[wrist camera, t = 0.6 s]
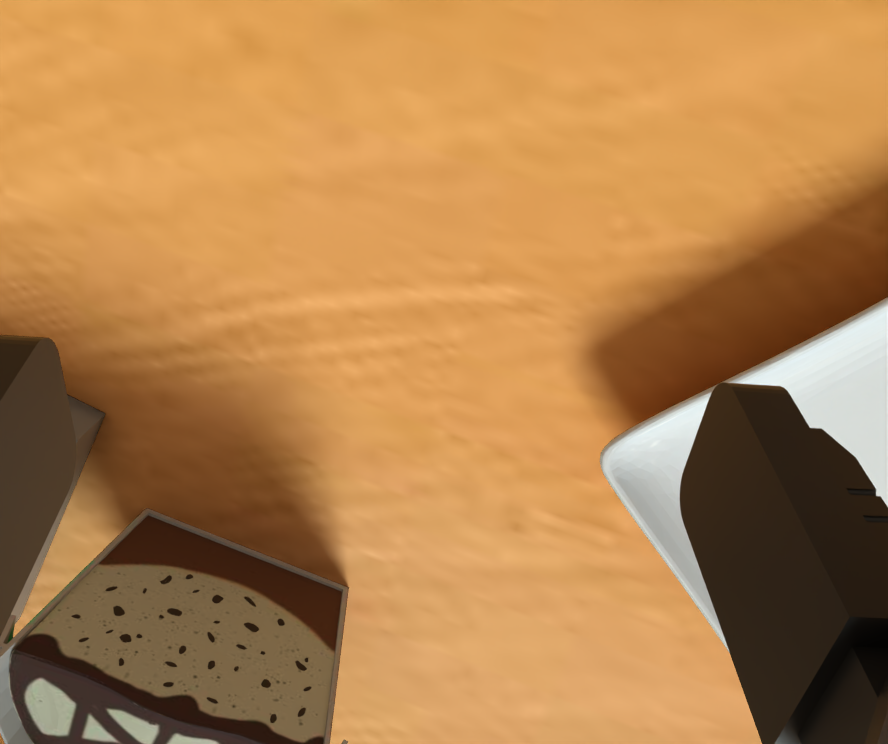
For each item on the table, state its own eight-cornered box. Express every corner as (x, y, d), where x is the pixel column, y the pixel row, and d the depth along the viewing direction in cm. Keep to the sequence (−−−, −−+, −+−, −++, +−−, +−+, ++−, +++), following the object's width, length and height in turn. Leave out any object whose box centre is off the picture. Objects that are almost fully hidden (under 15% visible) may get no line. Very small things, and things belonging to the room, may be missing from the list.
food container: (80, 601, 38) (-58, 784, 29) (113, 494, 36) (-25, 655, 27) (332, 697, 39) (277, 903, 30) (380, 600, 37) (337, 790, 28)
